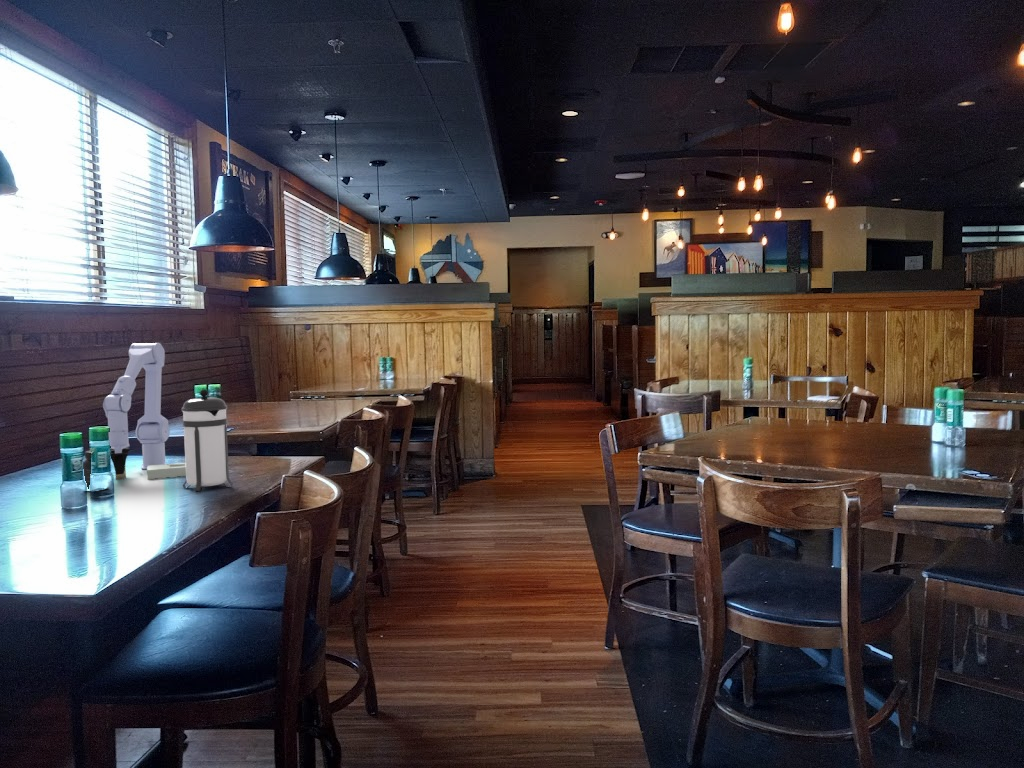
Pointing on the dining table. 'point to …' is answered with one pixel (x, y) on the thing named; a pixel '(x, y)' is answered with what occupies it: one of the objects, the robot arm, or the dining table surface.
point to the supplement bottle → (87, 467)
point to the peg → (121, 475)
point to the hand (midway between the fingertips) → (120, 472)
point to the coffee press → (205, 442)
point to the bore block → (166, 470)
